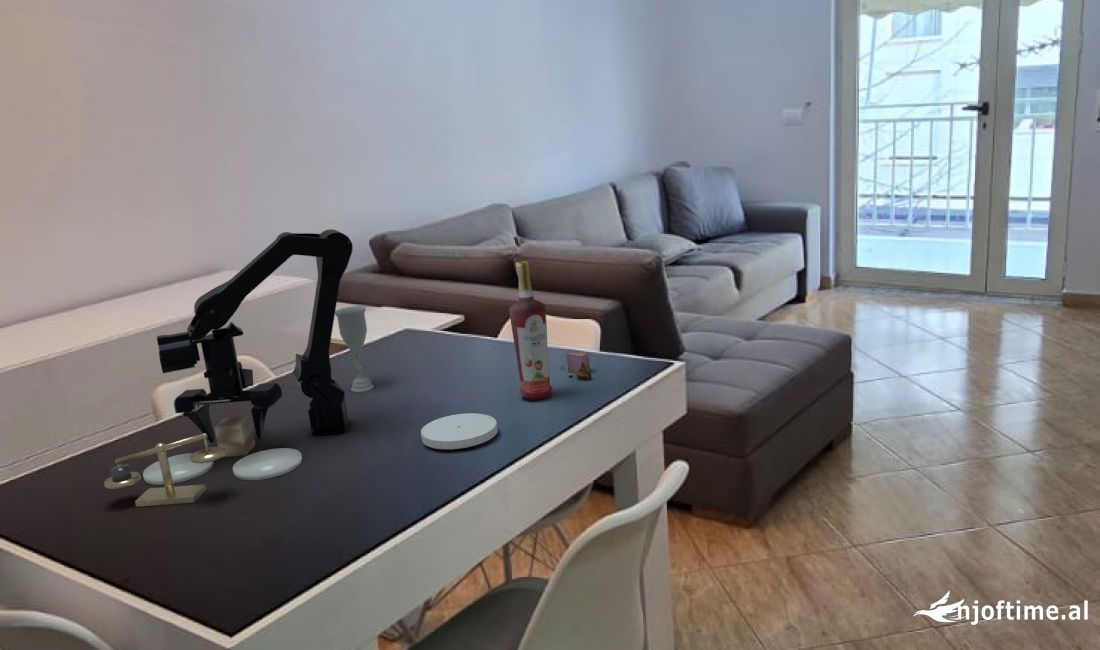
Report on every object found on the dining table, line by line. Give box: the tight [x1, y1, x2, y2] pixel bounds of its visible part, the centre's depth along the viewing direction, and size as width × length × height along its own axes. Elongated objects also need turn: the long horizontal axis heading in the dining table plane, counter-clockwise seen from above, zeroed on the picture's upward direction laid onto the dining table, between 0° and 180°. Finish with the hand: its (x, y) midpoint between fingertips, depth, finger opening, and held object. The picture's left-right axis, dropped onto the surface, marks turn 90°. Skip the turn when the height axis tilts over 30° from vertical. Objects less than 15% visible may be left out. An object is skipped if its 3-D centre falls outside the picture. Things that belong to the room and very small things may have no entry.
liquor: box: [508, 260, 554, 401], centre depth 186 cm, size 7×7×28 cm
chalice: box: [335, 305, 374, 393], centre depth 205 cm, size 7×7×18 cm
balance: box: [103, 433, 226, 507], centre depth 156 cm, size 21×6×11 cm, turn 87°
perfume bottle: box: [566, 350, 592, 381], centre depth 201 cm, size 12×12×4 cm
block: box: [213, 415, 256, 458], centre depth 176 cm, size 5×5×6 cm
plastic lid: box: [420, 412, 498, 450], centre depth 171 cm, size 14×14×2 cm
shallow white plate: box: [232, 447, 303, 482], centre depth 167 cm, size 12×12×1 cm
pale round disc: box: [142, 452, 215, 486], centre depth 169 cm, size 12×12×1 cm
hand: (236, 440), depth 176 cm, fingers open, 9 cm apart
